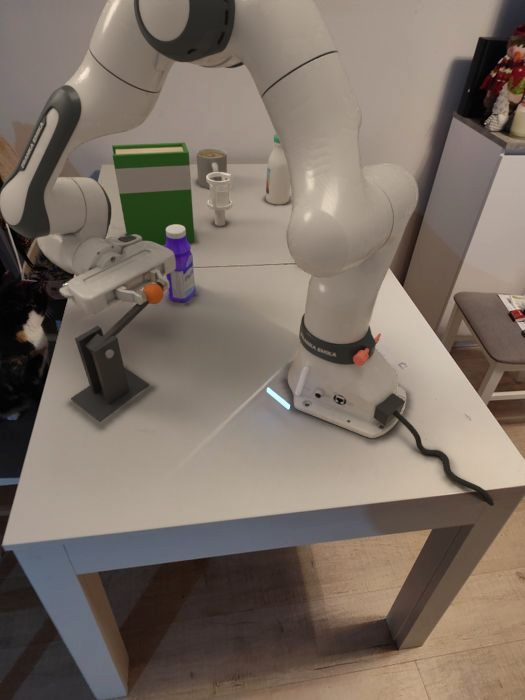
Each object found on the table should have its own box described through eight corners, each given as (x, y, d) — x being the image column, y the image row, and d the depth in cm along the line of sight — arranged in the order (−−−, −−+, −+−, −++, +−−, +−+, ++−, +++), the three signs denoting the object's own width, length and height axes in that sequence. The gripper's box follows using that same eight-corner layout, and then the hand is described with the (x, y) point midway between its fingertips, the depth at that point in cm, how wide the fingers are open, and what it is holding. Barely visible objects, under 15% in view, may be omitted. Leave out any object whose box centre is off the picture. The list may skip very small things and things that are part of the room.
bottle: (188, 308, 101) (183, 238, 89) (165, 304, 101) (156, 234, 90) (198, 290, 106) (194, 222, 94) (176, 286, 107) (169, 218, 95)
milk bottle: (293, 199, 147) (299, 135, 134) (281, 207, 142) (286, 141, 129) (273, 193, 150) (277, 129, 136) (261, 201, 145) (263, 135, 131)
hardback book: (128, 248, 119) (112, 155, 103) (127, 235, 124) (112, 145, 108) (194, 242, 123) (188, 152, 107) (191, 230, 128) (184, 142, 112)
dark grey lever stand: (121, 369, 85) (107, 312, 76) (150, 388, 82) (139, 331, 73) (72, 403, 79) (50, 345, 69) (101, 425, 75) (82, 367, 66)
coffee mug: (199, 176, 158) (197, 147, 151) (227, 177, 158) (226, 148, 152) (196, 192, 148) (194, 161, 141) (226, 193, 148) (226, 162, 142)
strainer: (226, 230, 129) (226, 179, 119) (204, 226, 130) (201, 174, 120) (235, 220, 134) (235, 170, 124) (213, 216, 135) (212, 166, 125)
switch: (156, 289, 80) (149, 276, 77) (170, 297, 79) (164, 283, 76) (90, 353, 74) (79, 341, 71) (104, 363, 72) (94, 351, 69)
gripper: (48, 273, 74) (102, 305, 68) (142, 230, 86) (195, 254, 80) (58, 304, 78) (110, 336, 72) (147, 259, 91) (197, 283, 85)
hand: (155, 292), depth 76 cm, fingers closed on switch, 4 cm apart
